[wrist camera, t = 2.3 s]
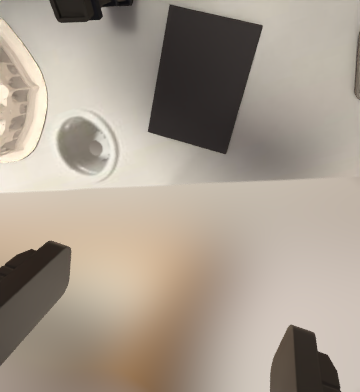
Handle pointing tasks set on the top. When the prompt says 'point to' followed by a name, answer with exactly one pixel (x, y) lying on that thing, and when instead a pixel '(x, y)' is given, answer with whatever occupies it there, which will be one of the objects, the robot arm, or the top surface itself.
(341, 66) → the top surface
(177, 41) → the desk mat
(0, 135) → the castle model
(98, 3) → the black layered block
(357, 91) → the smartphone
